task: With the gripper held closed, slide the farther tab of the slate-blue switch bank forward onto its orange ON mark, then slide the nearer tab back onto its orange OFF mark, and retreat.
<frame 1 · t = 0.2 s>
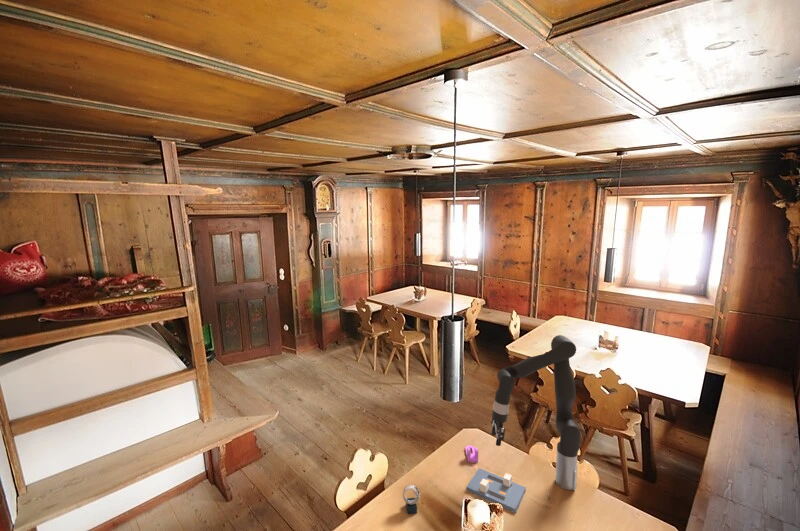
hand: (495, 440, 174), 22 cm above the table, tool pointing down, fingers open, 8 cm apart
tab 1: (484, 485, 167), point 4 cm above the table, slide at 8.0 cm
switch bank: (495, 490, 169), on the table
tab 2: (507, 480, 171), point 4 cm above the table, slide at 0.0 cm
watch: (411, 509, 159), on the table
bracket: (471, 455, 196), on the table
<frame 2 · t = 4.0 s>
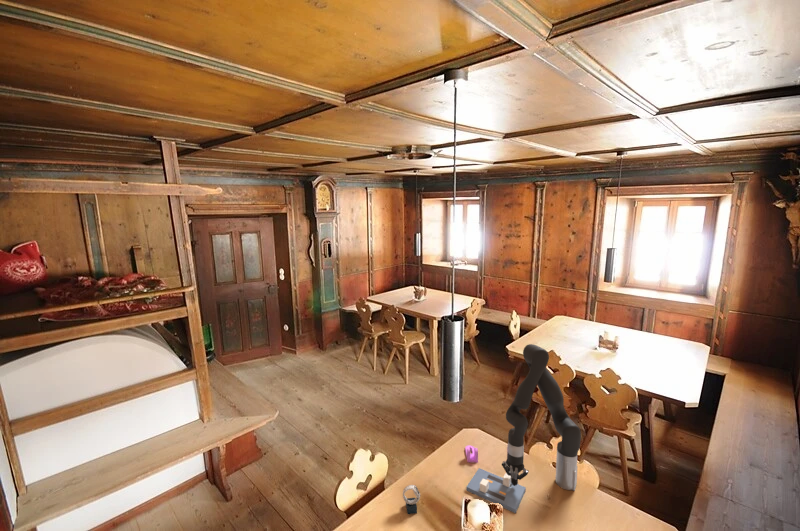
hand: (514, 484, 168), 4 cm above the table, tool pointing down, fingers closed
tab 2: (507, 480, 171), point 4 cm above the table, slide at 0.1 cm, touching gripper
everything else where it was.
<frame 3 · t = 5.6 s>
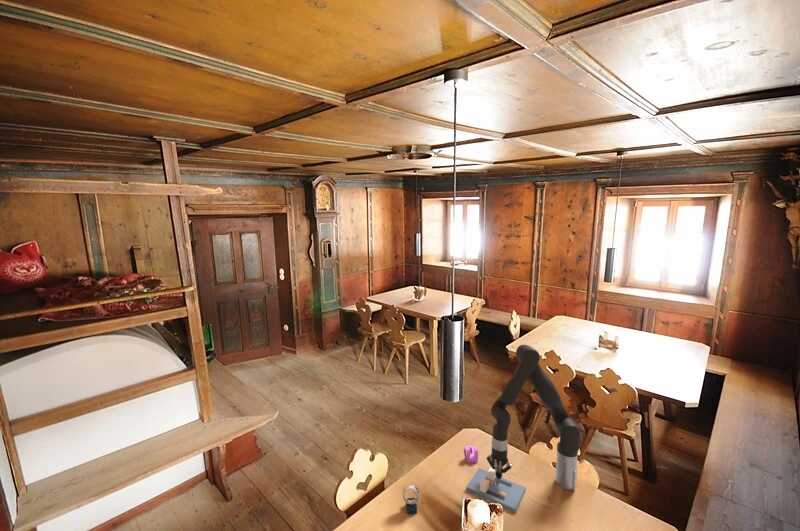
hand: (498, 477, 173), 4 cm above the table, tool pointing down, fingers closed
tab 2: (492, 473, 175), point 4 cm above the table, slide at 7.9 cm, touching gripper
everything else where it was.
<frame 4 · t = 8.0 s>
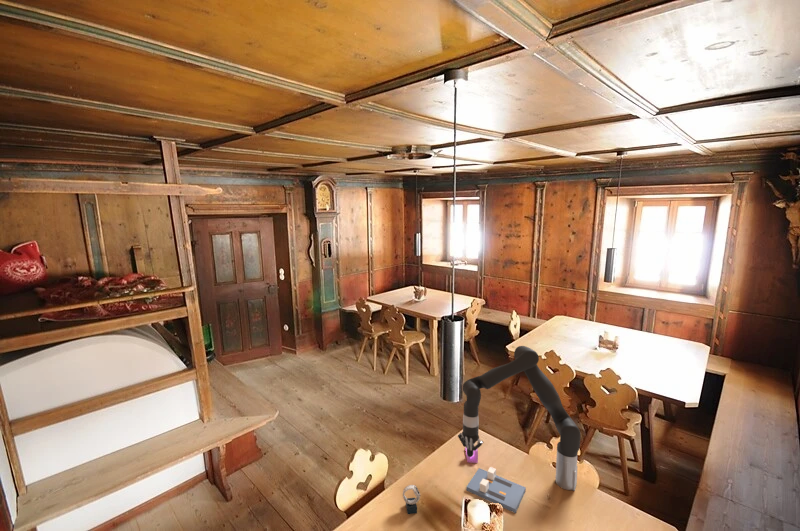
hand: (470, 455, 170), 17 cm above the table, tool pointing down, fingers closed
tab 2: (491, 473, 175), point 4 cm above the table, slide at 8.0 cm
everything else where it was.
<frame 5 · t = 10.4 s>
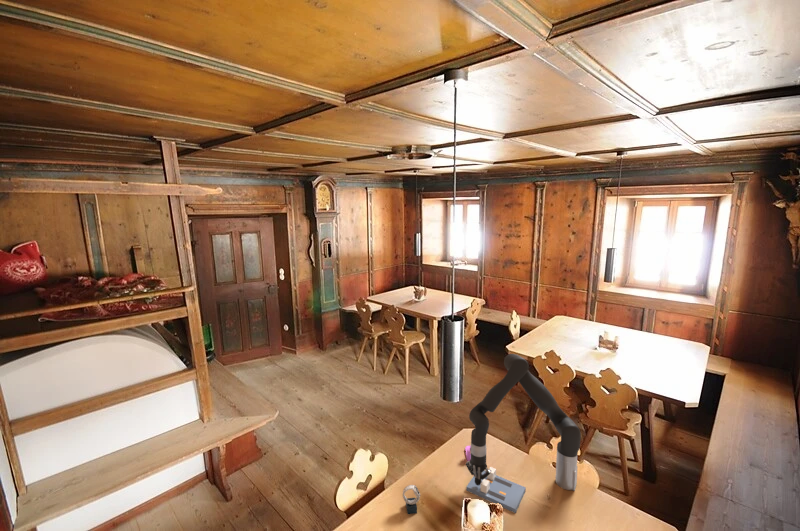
hand: (477, 484, 169), 3 cm above the table, tool pointing down, fingers closed
tab 1: (485, 486, 167), point 4 cm above the table, slide at 7.6 cm, touching gripper
everything else where it was.
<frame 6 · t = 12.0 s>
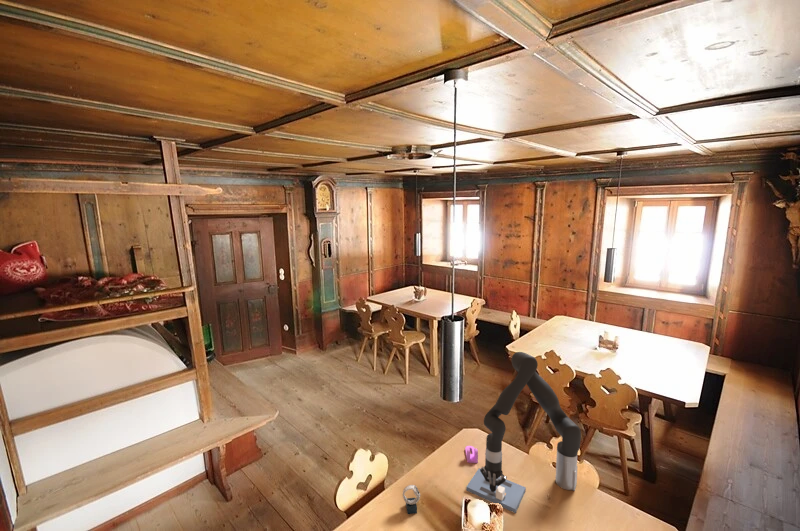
hand: (492, 490, 165), 3 cm above the table, tool pointing down, fingers closed
tab 1: (500, 492, 163), point 4 cm above the table, slide at 0.1 cm, touching gripper
everything else where it was.
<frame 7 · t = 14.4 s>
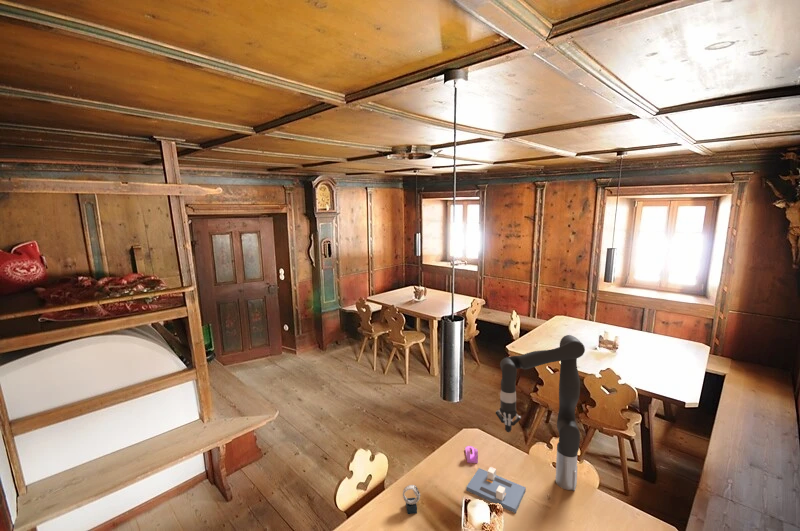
hand: (508, 431, 175), 26 cm above the table, tool pointing down, fingers closed
tab 1: (500, 492, 162), point 4 cm above the table, slide at 0.0 cm
everything else where it was.
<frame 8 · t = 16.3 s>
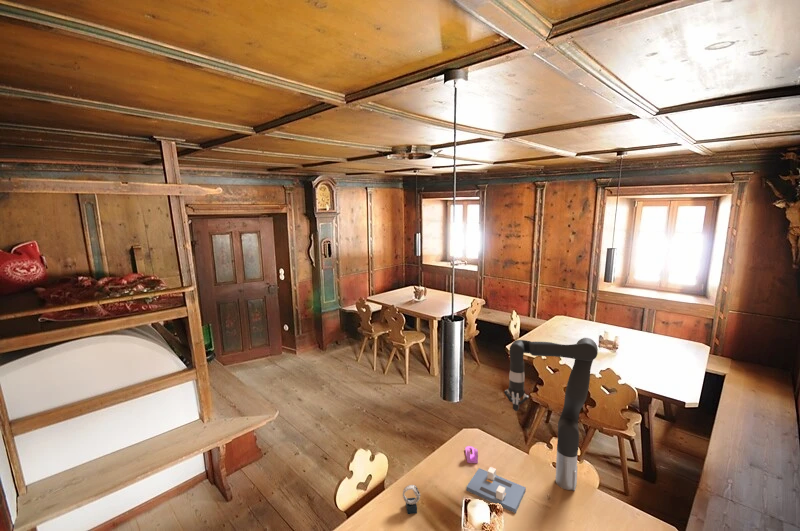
hand: (515, 410, 183), 32 cm above the table, tool pointing down, fingers closed
nothing on the table moved.
at the end: tab 2 slide at 8.0 cm; tab 1 slide at 0.0 cm; bracket moved 0.8 cm from its start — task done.
